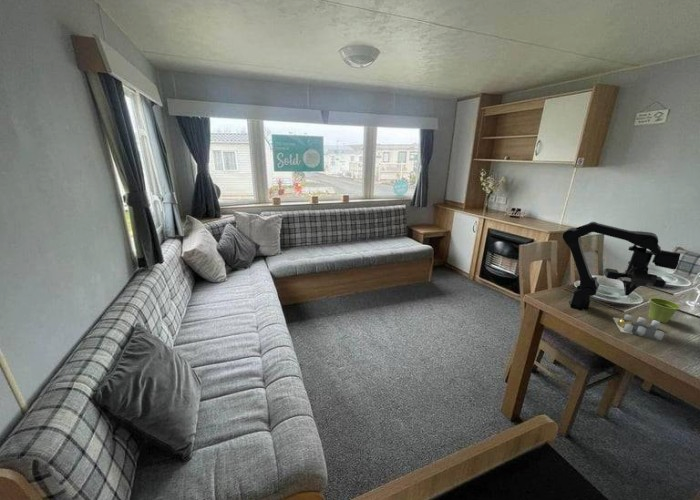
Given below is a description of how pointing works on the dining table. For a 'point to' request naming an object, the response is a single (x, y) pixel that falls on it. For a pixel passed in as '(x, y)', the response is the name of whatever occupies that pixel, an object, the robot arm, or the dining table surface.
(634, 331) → the board
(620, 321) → the brass knob
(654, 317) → the plant pot
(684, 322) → the dining table surface
